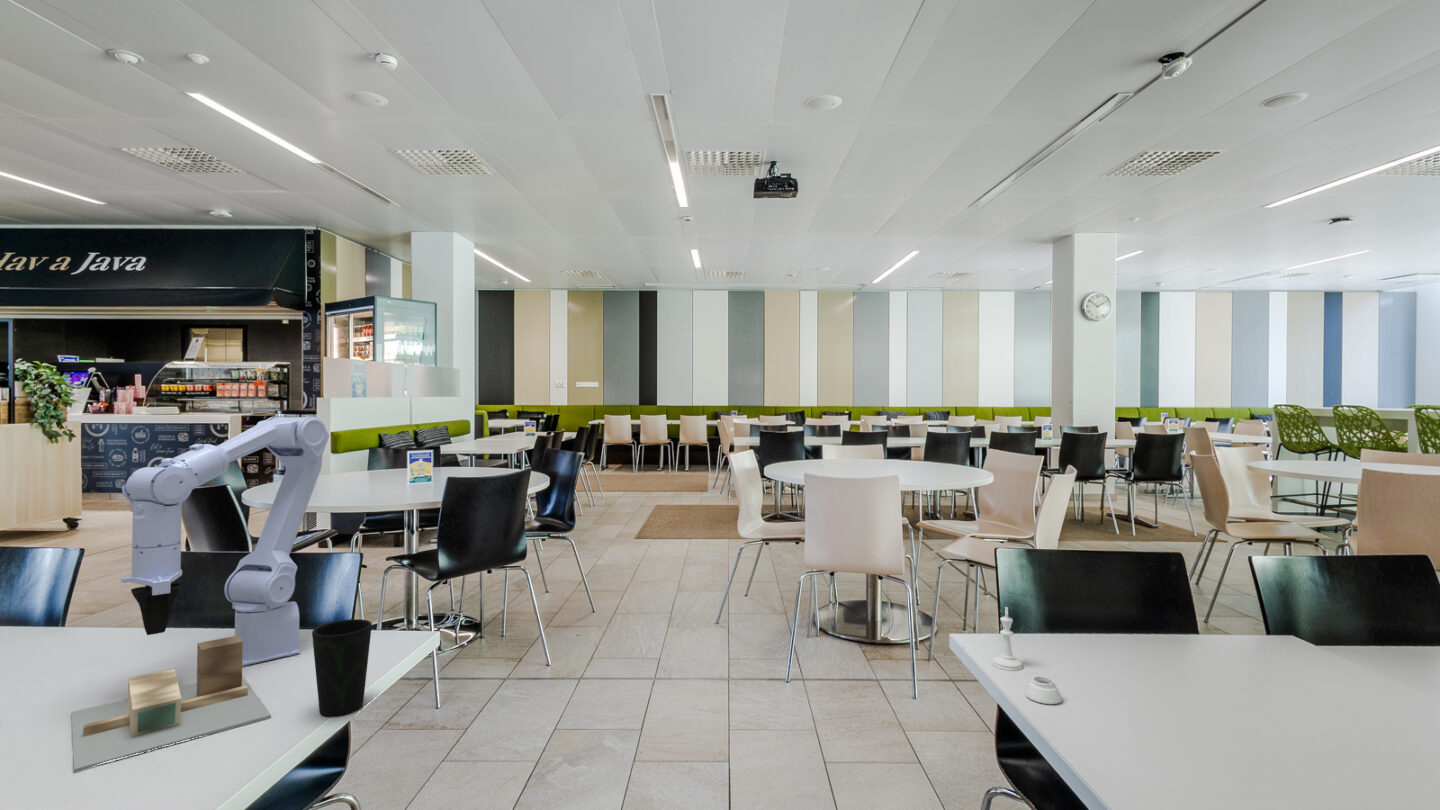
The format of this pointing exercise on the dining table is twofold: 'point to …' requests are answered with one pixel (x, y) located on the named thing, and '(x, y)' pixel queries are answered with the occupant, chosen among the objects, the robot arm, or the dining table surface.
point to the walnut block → (219, 665)
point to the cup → (341, 665)
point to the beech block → (153, 702)
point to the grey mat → (191, 726)
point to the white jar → (1043, 691)
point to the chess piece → (1006, 648)
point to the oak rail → (185, 706)
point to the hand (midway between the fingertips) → (155, 632)
